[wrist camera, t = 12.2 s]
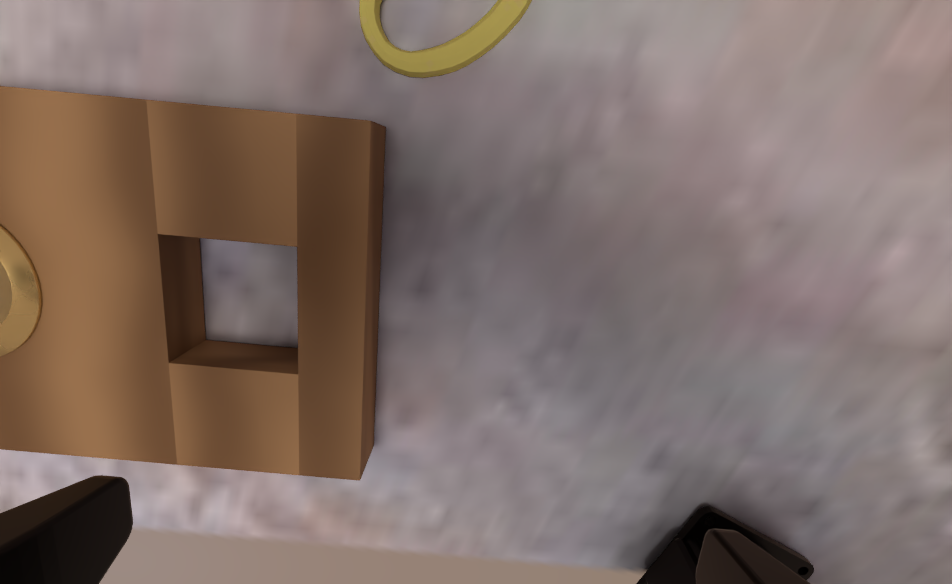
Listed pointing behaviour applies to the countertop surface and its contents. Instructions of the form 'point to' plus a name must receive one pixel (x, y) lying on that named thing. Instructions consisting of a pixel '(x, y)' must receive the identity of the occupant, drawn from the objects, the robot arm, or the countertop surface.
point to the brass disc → (19, 294)
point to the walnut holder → (189, 282)
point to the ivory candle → (4, 294)
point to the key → (446, 55)
